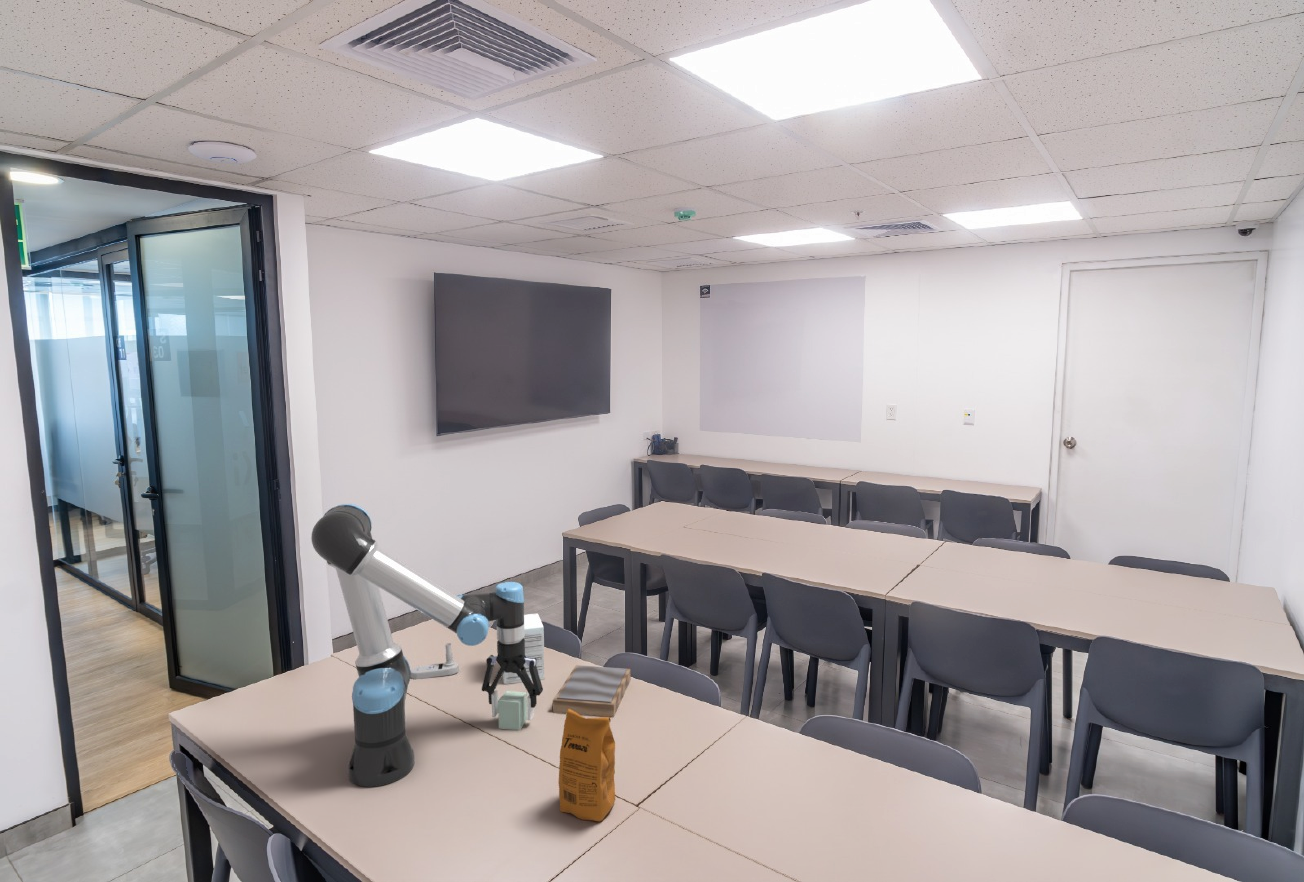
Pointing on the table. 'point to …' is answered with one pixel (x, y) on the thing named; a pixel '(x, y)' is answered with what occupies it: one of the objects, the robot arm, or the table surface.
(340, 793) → the table surface
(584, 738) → the coffee package
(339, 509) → the robot arm
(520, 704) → the sage block
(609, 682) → the base
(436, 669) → the electronic device
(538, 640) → the supplement box
